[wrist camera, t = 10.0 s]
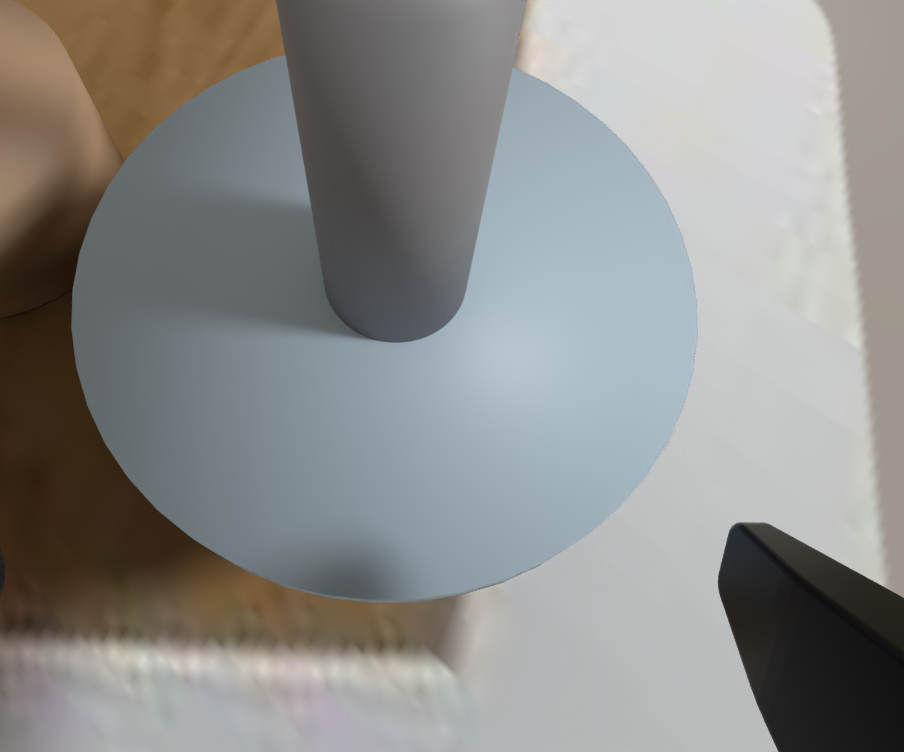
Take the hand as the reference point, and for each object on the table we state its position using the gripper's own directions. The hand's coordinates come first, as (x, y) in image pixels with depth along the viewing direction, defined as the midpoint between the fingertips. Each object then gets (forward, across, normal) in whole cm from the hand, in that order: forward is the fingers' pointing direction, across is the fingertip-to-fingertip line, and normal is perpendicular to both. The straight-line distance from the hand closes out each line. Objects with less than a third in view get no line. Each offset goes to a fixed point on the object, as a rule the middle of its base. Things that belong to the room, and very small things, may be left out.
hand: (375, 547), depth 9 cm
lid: (+8, 0, -1) cm, 8 cm away
